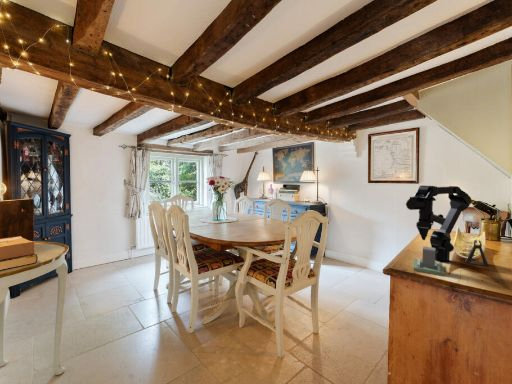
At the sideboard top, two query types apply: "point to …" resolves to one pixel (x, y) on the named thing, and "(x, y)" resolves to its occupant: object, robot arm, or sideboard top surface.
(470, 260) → the dark a-frame stand
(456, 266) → the sideboard top surface
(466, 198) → the robot arm
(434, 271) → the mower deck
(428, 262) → the chute block
